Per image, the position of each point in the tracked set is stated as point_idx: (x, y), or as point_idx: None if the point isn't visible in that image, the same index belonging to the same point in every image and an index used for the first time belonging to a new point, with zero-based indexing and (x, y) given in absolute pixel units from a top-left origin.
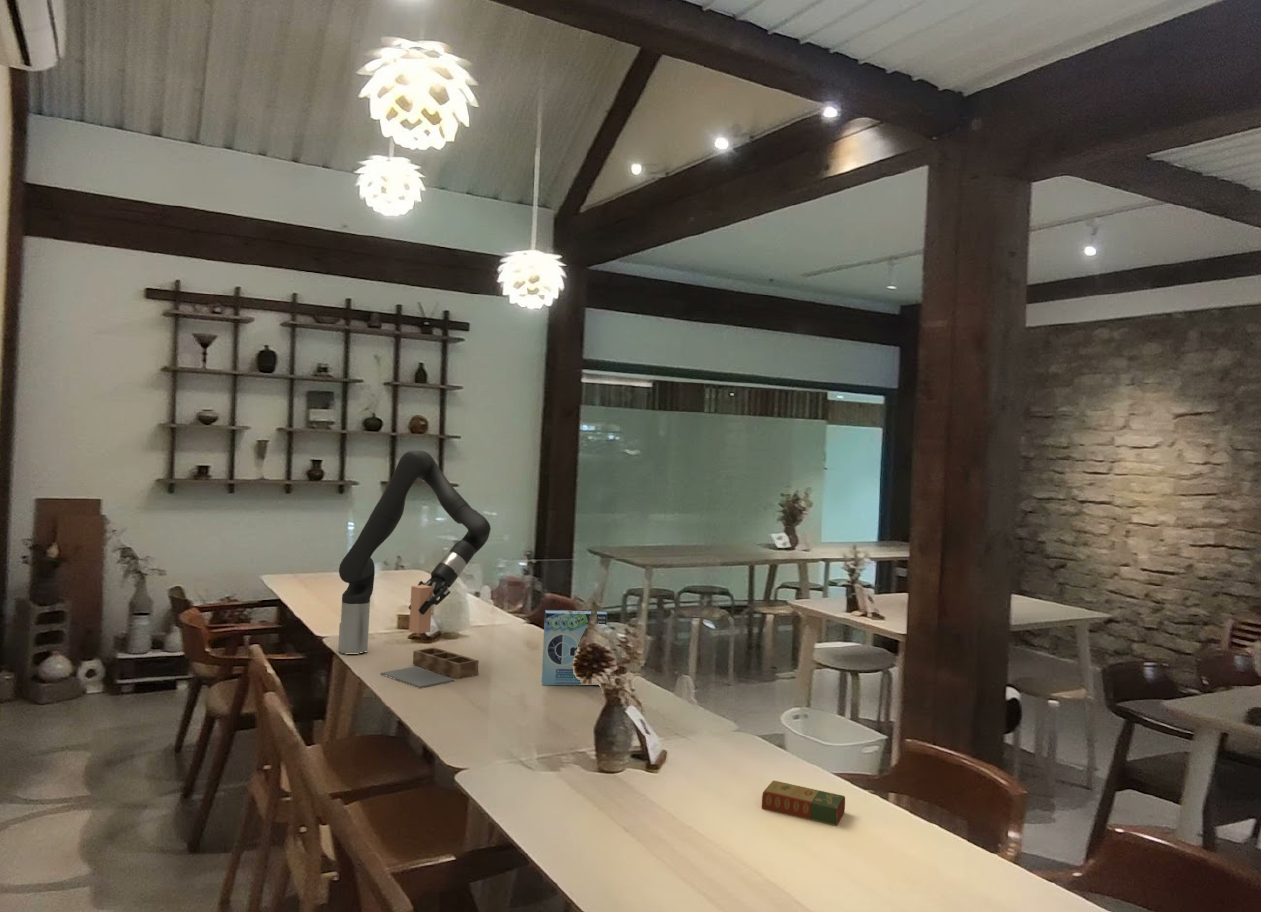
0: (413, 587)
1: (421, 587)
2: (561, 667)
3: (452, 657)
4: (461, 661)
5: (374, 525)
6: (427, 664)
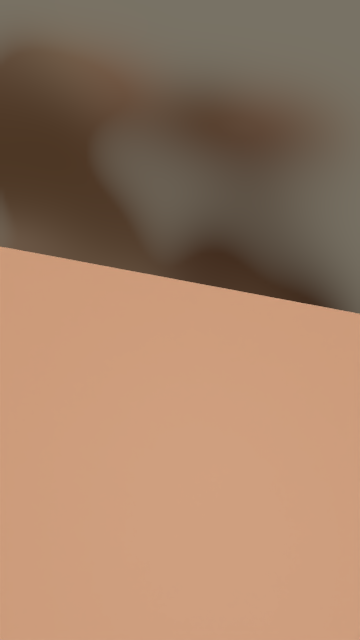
0: (332, 325)
1: (8, 367)
2: None
3: None
4: None
5: None
6: None
